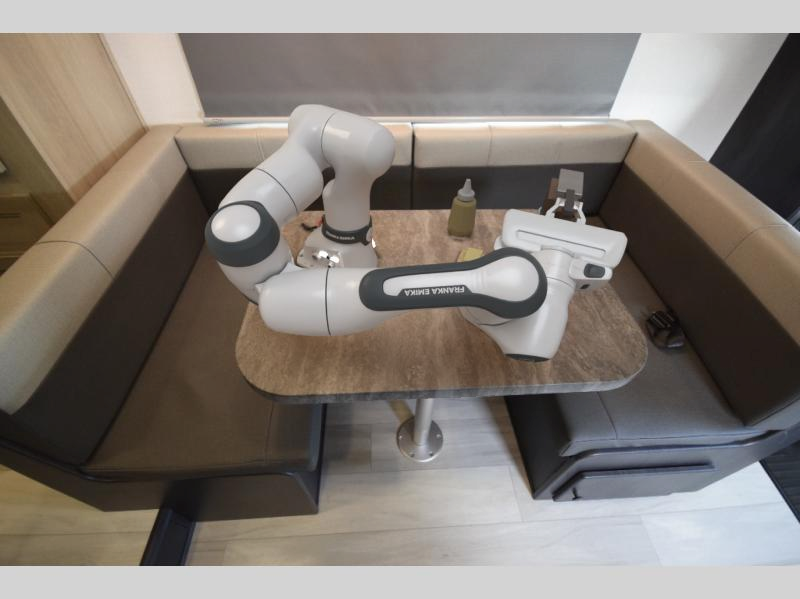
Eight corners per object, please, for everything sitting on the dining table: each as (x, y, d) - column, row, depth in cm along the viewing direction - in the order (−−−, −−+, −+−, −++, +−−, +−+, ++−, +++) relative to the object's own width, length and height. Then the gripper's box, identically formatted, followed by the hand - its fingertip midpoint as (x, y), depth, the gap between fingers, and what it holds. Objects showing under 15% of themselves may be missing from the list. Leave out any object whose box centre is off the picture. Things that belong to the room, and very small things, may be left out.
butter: (461, 268, 95) (463, 259, 93) (466, 255, 99) (468, 247, 97) (475, 272, 94) (477, 263, 92) (480, 259, 98) (482, 250, 96)
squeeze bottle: (471, 244, 105) (483, 188, 92) (444, 240, 106) (452, 185, 93) (473, 229, 110) (484, 174, 98) (447, 225, 111) (455, 171, 99)
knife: (552, 215, 62) (555, 207, 61) (559, 171, 73) (562, 165, 72) (579, 220, 61) (582, 213, 60) (582, 176, 72) (585, 169, 71)
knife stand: (511, 288, 92) (542, 199, 73) (518, 261, 100) (548, 174, 81) (542, 297, 90) (582, 207, 71) (547, 269, 98) (584, 181, 79)
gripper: (489, 262, 65) (508, 198, 68) (606, 292, 60) (622, 222, 63) (491, 248, 59) (513, 179, 62) (622, 281, 54) (639, 204, 57)
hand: (569, 201), depth 63 cm, fingers closed on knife, 1 cm apart
